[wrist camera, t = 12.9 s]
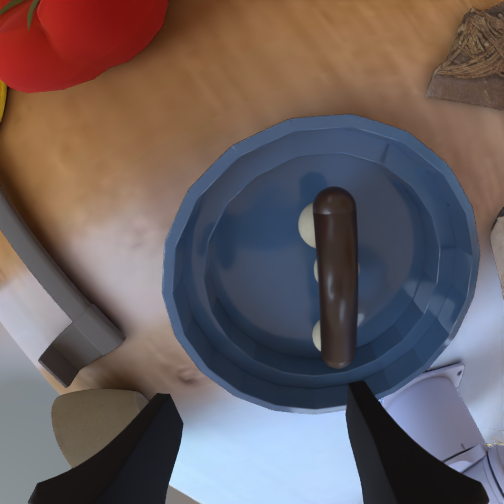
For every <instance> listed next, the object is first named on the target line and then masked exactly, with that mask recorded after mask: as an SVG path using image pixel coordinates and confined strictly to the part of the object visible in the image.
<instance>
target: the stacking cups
mask: <svg viewBox="0 0 504 504" xmlns="http://www.w3.org/2000/svg"><path fill="white" fill-rule="evenodd" d="M6 94H7V85H6V84H5V83H4V82H3V81H2V80H0V123H1V119H2V115H3V112H4V107H5V101H6Z"/></svg>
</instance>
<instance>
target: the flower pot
mask: <svg viewBox="0 0 504 504" xmlns="http://www.w3.org/2000/svg"><path fill="white" fill-rule="evenodd" d="M148 402H149V401H148V400H147V399H146V398H145V397H144V396H143V395H142V394H141V393H139V392H137V391H130V390H121V389H89V390H81V391H75V392H71V393H67V394H64V395H61V396H59V397H57V398H56V399H55V401H54V403H53V406H52V412H51V418H52V425H53V431H54V433H55V437H56V440H57V443H58V445H59V447H60V449H61V451H62V453H63V455H64V457H65V459H66V460H67V462H68V463H69V465H70V466H71V467H72V468H74V467H76V466H78V465H79V464H81V463H83V462H84V461H86V460H87V459H89V458H90V457H92V456H93V455H95V454H96V453H97V452H99V451H100V450H101V449H103V448H104V447H105V446H106V445H108V444H109V443H110V442H111V441H112V440H113V439H114V438H115V437H116V436H117V435H118V434H119V433H120V432H122V431H123V430H124V429H125V428H126V427H127V425H128V424H129V423H130V422H131V421H132V420H133V419H134V418H135V417H136V416H137V415H138V414H139V413H140V411H141V410H142V409H143V408H144V407H145V406H146V405H147V404H148Z"/></svg>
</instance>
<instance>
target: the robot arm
mask: <svg viewBox="0 0 504 504" xmlns="http://www.w3.org/2000/svg"><path fill="white" fill-rule="evenodd" d="M464 369H465V365H464V363H458V364H455V365H451V366H448V367H444V368H441V369H437V370H433V371H430V372H426V373H422V374H420V375H419V376H418V377H416V378H415V379H413V380H412V381H411V382H409V383H408V384H406V385H405V386H403V387H402V388H401V389H399V390H398V391H396V392H395V393H393V394H390V395H388V396H386V397H383V400H382V405H381V403H380V402H379V401H378V399H377V398H376V397H375V395H374V394H373V393H372V391H371V390H370V388H369V387H368V385H367V384H366V382H365V381H358V382H352V383H348V394H347V405H346V422H347V428H348V435H349V439H350V443H351V447H352V450H353V454H354V458H355V462H356V465H357V469H358V473H359V477H360V481H361V486H362V494H363V502H364V504H504V445H497V444H494V445H493V446H491V447H490V448H489V447H487V445H486V443H485V441H484V439H483V437H482V435H481V433H480V431H479V429H478V427H477V425H476V423H475V421H474V419H473V418H472V416H471V414H470V412H469V410H468V409H467V407H466V405H465V403H464V401H463V400H462V398H461V396H460V394H459V393H458V391H457V388H458V386H459V383H460V380H461V377H462V375H463V372H464ZM182 431H183V422H182V419H181V417H180V415H179V413H178V411H177V409H176V407H175V404H174V402H173V400H172V398H171V395H170V394H161V393H157V394H156V395H155V396H154V397H153V398H152V399H151V400H150V401H149V402H148V404H147V405H146V406H145V407H144V408H143V409H142V410H141V411H140V413H139V414H138V415H137V416H136V417H135V418H134V419H133V420H132V421H131V422H130V423H129V424H128V425H127V427H126V428H125V429H124V430H123V431H122V432H120V433H119V434H118V435H117V436H116V437H115V438H114V439H113V440H112V441H111V442H110V443H109V444H108V445H106V446H105V447H104V448H103V449H101V450H100V451H99V452H97V453H96V454H95V455H93V456H92V457H90V458H89V459H87V460H86V461H84V462H83V463H81V464H79V465H78V466H76V467H74V468H72V469H71V470H69V471H67V472H65V473H63V474H60V475H58V476H56V477H53V478H51V479H48V480H45V481H43V482H39V483H38V484H37V485H36V487H35V489H34V491H33V493H32V495H31V497H30V499H29V501H28V504H165V499H166V493H167V488H168V484H169V481H170V478H171V474H172V471H173V468H174V464H175V461H176V458H177V454H178V451H179V447H180V444H181V438H182Z"/></svg>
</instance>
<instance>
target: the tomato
mask: <svg viewBox="0 0 504 504" xmlns="http://www.w3.org/2000/svg"><path fill="white" fill-rule="evenodd" d="M168 2H169V0H0V80H2V81H3V82H4V83H5V84H6V85H7V86H9V87H10V88H11V89H14V90H18V91H22V92H25V93H34V92H45V91H54V90H64V89H66V88H69V87H72V86H75V85H77V84H80V83H83V82H86V81H89V80H92V79H94V78H96V77H97V76H99V75H100V74H101V73H103V72H104V71H105V70H107V69H108V68H110V67H113V66H116V65H119V64H122V63H125V62H128V61H130V60H131V59H132V58H133V57H135V56H136V55H137V54H138V53H140V52H141V51H142V50H144V49H145V48H146V47H147V46H148V44H149V43H150V42H151V40H152V39H153V38H154V37H155V35H156V34H157V33H158V32H159V30H160V29H161V28H162V27H163V24H164V19H165V15H166V11H167V6H168Z"/></svg>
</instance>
